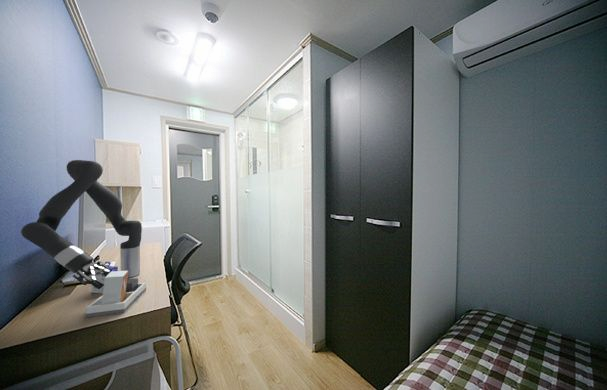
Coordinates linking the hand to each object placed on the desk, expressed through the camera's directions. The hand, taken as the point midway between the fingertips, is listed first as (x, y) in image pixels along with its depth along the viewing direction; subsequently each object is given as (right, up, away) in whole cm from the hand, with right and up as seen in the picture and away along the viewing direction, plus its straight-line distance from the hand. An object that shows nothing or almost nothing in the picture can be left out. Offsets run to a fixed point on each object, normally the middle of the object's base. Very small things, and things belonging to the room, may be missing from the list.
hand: (108, 283), depth 92 cm
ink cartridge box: (-16, -11, +16) cm, 26 cm away
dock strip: (0, -11, +6) cm, 12 cm away
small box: (+2, -10, +1) cm, 10 cm away
